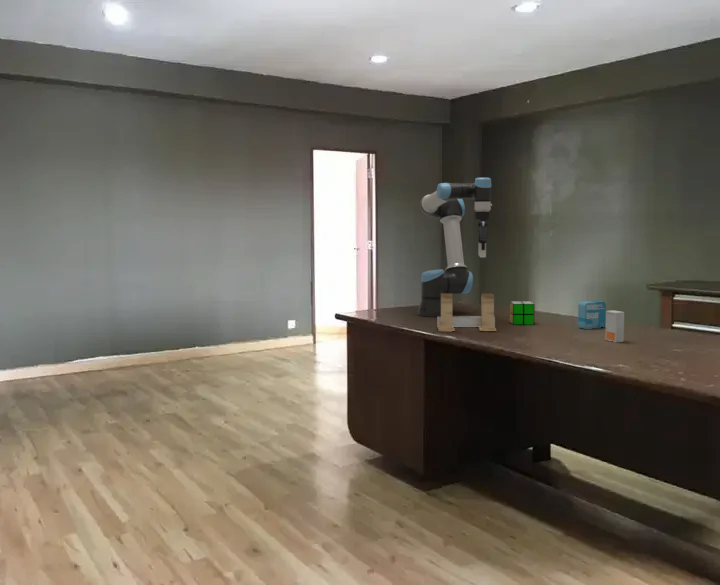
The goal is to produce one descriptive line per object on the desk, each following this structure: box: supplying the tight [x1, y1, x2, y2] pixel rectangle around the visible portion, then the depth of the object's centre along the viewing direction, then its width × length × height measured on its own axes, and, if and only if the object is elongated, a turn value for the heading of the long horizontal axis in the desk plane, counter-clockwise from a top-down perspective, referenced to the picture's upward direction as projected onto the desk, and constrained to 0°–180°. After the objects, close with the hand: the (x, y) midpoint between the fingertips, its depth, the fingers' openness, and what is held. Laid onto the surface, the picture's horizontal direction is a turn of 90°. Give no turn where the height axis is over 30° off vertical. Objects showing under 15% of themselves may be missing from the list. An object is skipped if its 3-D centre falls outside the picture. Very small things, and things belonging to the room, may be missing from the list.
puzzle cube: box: [509, 300, 536, 326], centre depth 318 cm, size 10×10×10 cm
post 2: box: [478, 293, 497, 332], centre depth 298 cm, size 8×7×16 cm
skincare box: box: [604, 309, 625, 343], centre depth 268 cm, size 6×4×12 cm
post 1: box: [437, 294, 456, 332], centre depth 299 cm, size 8×7×16 cm
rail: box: [436, 315, 496, 328], centre depth 309 cm, size 4×26×5 cm, turn 85°
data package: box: [577, 300, 607, 330], centre depth 302 cm, size 12×4×12 cm, turn 114°
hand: (482, 256), depth 316 cm, fingers open, 13 cm apart
